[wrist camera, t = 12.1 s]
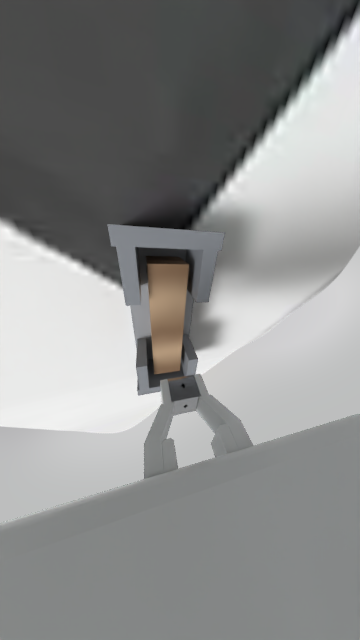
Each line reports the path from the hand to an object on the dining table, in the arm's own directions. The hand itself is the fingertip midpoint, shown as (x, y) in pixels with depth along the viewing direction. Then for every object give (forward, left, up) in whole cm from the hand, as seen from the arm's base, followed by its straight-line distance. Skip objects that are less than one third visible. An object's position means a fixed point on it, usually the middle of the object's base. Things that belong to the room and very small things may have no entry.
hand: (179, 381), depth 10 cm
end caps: (0, 0, -11) cm, 11 cm away
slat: (0, 0, -10) cm, 10 cm away
